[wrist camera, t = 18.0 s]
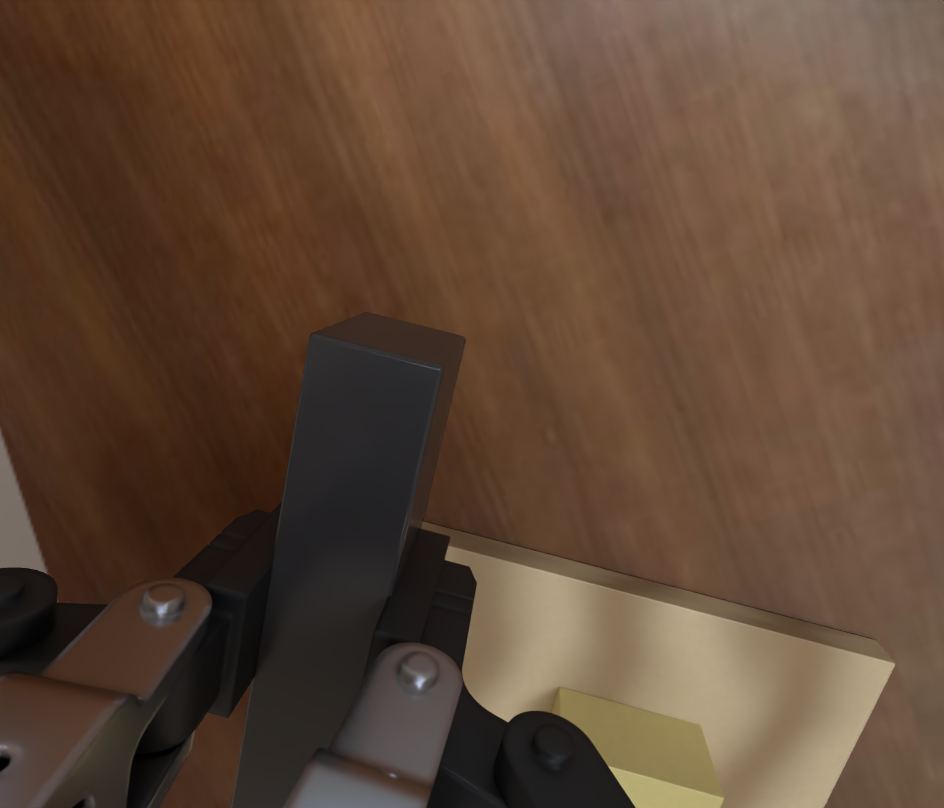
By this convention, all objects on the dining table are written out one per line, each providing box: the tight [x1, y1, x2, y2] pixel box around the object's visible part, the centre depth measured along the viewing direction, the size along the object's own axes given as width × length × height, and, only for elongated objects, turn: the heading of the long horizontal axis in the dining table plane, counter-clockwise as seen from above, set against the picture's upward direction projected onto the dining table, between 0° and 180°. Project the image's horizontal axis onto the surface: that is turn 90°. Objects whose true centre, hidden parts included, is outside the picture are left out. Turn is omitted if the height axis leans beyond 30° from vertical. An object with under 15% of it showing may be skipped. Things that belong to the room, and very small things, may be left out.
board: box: [421, 522, 895, 808], centre depth 27 cm, size 22×14×2 cm, turn 77°
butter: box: [551, 687, 724, 808], centre depth 24 cm, size 6×4×4 cm, turn 77°
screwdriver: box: [231, 312, 466, 808], centre depth 13 cm, size 20×2×3 cm, turn 167°
